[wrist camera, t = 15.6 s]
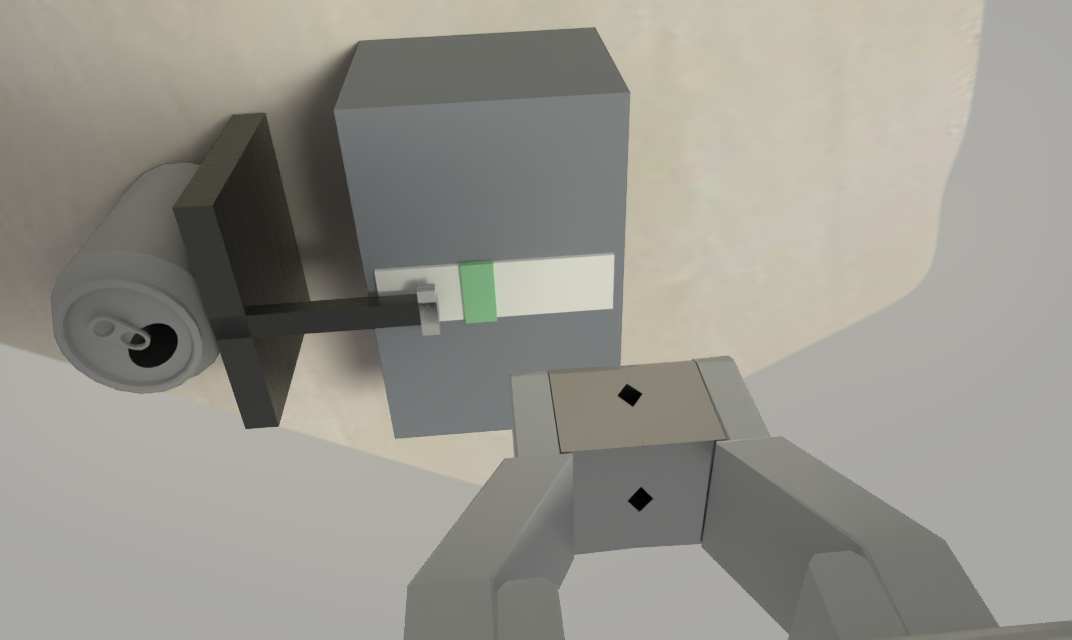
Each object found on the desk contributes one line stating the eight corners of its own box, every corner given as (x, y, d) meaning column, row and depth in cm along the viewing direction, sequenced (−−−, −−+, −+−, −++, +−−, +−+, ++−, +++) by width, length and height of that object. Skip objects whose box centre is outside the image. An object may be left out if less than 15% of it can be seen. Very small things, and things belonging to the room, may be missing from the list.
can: (225, 295, 47) (164, 431, 38) (105, 224, 44) (3, 352, 34) (294, 211, 45) (248, 334, 35) (171, 128, 41) (82, 238, 32)
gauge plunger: (284, 309, 47) (245, 428, 38) (233, 115, 40) (172, 207, 31) (451, 297, 47) (450, 412, 39) (429, 103, 40) (422, 191, 32)
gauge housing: (405, 329, 50) (394, 443, 41) (359, 40, 40) (332, 113, 31) (592, 316, 50) (619, 425, 42) (595, 27, 40) (631, 95, 32)
